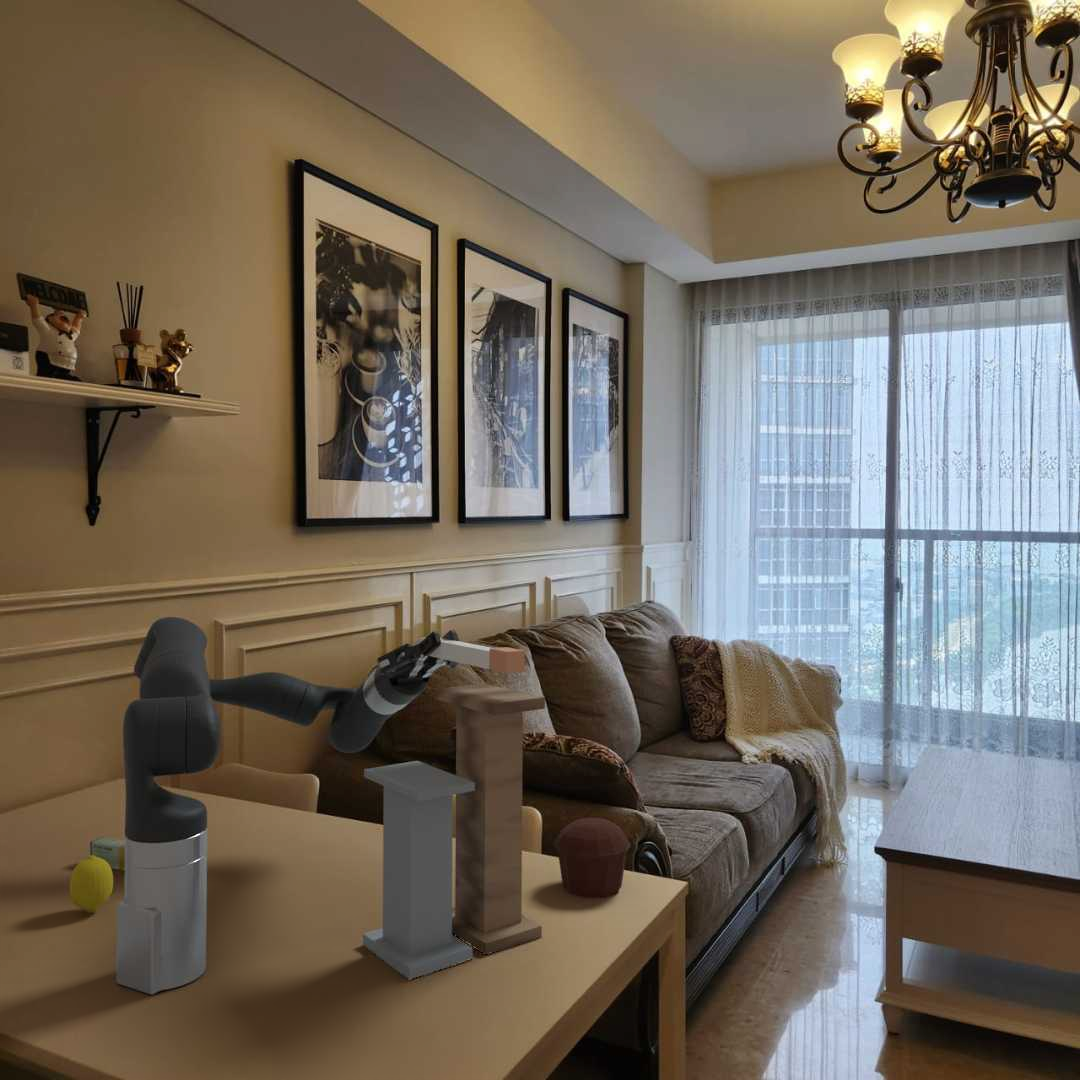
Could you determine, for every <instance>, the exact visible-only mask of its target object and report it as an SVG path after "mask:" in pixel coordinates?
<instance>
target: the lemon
mask: <svg viewBox="0 0 1080 1080" xmlns="http://www.w3.org/2000/svg"><path fill="white" fill-rule="evenodd" d="M68 886H69V889H68V890H69V896H70V899H71V901H72V902H73V904H74V905H75V906H76V907H78V908H79V909H82V910H86V912H88V913H90V914H91V912H92V913H94V912H95V911H96V910H97V909H98V908H100V907H101V906H103V905H104V904H106V902H107V901H108V900H109V898H110V896H111V894H112V893H113V888H114V874H113V870H112V868H111V867H110V865H109V864H108V863H107V862H106V861H105V860H104V859H101V858H98V857H95V856H94V855H89V856H88V857H87V858H84V859H83V860H82V861H80V862H79V863H77V864H76V866H75V867H74V869H73V871H72V873H71V876H70V880H69V885H68Z"/></svg>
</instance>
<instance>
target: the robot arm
mask: <svg viewBox="0 0 1080 1080" xmlns="http://www.w3.org/2000/svg"><path fill="white" fill-rule="evenodd" d="M424 638H425V639H424V640H423V641H421V640H418V641H417V642H415V643H414V644H413V645H412V644H411V643H405V644H403V645H401V646H399V647H396V648H395V649H393V650H390V651H389V652H387V653H385V654H384V655H381V656H380V657H377V660H376V661H377V663H378V666H377V667H376V668H375V669H374V670H373V671H372V672H371V673H370V674H369V676H368V678H366V680H365V681H364V682H363V683H361V685H360V686H358V688H352V687H351V688H350V687H336V686H327V685H321V684H320V685H318V684H314V683H312V682H308V681H306V680H303V679H301V678H297V677H295V676H292V675H289V674H286V673H282V672H274V671H271V672H270V671H269V672H268V671H267V672H258V673H253V674H248V675H243V676H238V677H233V678H231V677H230V678H224V679H214V678H210V675H209V672H208V669H207V663H206V656H205V650H206V648H207V644H208V637H207V635H206V633H205V631H203V630H202V628H201V627H199V626H198V625H196V624H195V623H193V622H192V621H190V620H188V619H185V618H181V617H177V616H167V617H161V618H159V619H157V620H156V621H154V622H153V623H152V624H151V625H150V628H149V629H148V631H147V633H146V636H145V639H144V641H143V644H142V646H141V648H140V651H139V653H138V655H137V658H136V660H135V663H134V668H133V673H134V675H135V676H136V677H137V679H139V680H140V681H139V699H136V700H135V699H134V700H133V701H131V702H130V703H129V704H128V706H127V708H126V711H125V713H124V718H123V723H122V725H123V726H122V728H123V729H122V746H123V762H124V780H125V781H124V782H125V783H124V785H125V810H124V811H125V813H124V815H125V817H124V841H125V871H124V882H123V883H124V886H123V887H124V896H123V899H124V900H121V901H119V902H118V903H117V905H116V973H115V974H116V980H115V982H116V984H119V985H121V986H125V987H127V988H131V989H134V990H137V991H139V992H143V993H145V994H148V995H155V994H156V993H158V992H160V991H165V990H171V989H175V988H179V987H181V986H185V985H187V984H190V983H191V982H193V981H196V980H197V979H199V978H200V977H201V976H202V975H203V974H204V973H205V971H206V969H207V910H208V909H207V903H208V901H207V900H208V899H207V897H208V896H207V895H208V893H207V891H208V886H207V885H208V884H207V881H208V879H207V878H208V876H207V875H208V809H207V806H206V805H205V804H204V802H203V801H201V800H199V799H197V798H194V797H190V796H187V795H182V794H178V793H175V792H172V791H170V790H168V789H166V788H163V787H162V786H160V785H159V784H157V782H155V780H154V778H155V777H163V776H173V775H175V776H176V775H187V774H195V773H199V772H203V771H205V770H207V769H209V768H211V767H212V766H213V765H214V763H215V762H216V760H217V758H218V755H219V753H220V749H221V739H222V729H221V722H220V718H219V717H220V715H219V713H218V710H217V707H216V704H215V703H221V704H225V705H231V706H236V707H241V708H245V709H250V710H254V711H257V712H261V713H264V714H267V715H270V716H273V717H276V718H278V719H281V720H284V721H286V722H291V723H294V724H296V725H299V726H303V727H310V726H311V725H313V724H314V722H315V721H316V720H317V718H318V717H319V715H320V713H321V712H323V711H325V710H326V711H327V710H334V712H333V715H332V717H331V721H330V723H329V727H328V730H327V739H328V741H329V743H330V744H331V746H332V747H333V748H334V749H336V750H337V751H339V752H341V753H346V754H352V753H353V754H354V753H358V752H361V751H363V750H365V749H366V748H368V746H369V745H370V744H371V743H372V742H373V740H374V739H375V737H376V736H377V735H378V733H379V732H380V730H381V729H382V727H383V725H384V724H385V722H386V721H387V720H388V719H389V718H391V717H392V716H393V715H395V714H396V713H397V712H398V711H401V710H402V709H403V708H405V707H406V706H407V705H408V704H410V703H411V702H412V701H414V699H415V698H417V697H418V696H419V695H420V694H422V693H423V692H424V691H425V689H426V688H427V686H428V684H429V681H430V677H431V675H433V674H434V673H436V672H438V671H439V670H440V667H444V666H446V667H448V668H449V669H455V668H456V667H458V662H454V661H450V660H445V659H441V658H436V657H432V656H427V655H430V654H431V653H432V652H433V651H434V650H436V649H437V648H438V647H439V646H440V644H441V639H440V638H443V639H448V640H453V641H459V642H460V640H459V635H458V633H457V631H456V630H455V629H453V630H448V632H447V633H446V634H444V635H443V636H442V637H441V636H440V633H439V631H437V630H435V631H431V632H430V634H428V635H427V636H426V637H424Z"/></svg>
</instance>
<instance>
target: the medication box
mask: <svg viewBox="0 0 1080 1080" xmlns="http://www.w3.org/2000/svg"><path fill="white" fill-rule="evenodd" d="M89 845H90V848H89V849H90V855H89V856H91V855H94V856H95V857H98V858H101V859H104V860H105V861H106V862H107V863H108V864H109V865H110V867H111V869H113V868H117V869H116V870H118V869H124V870H125V840H122V839H114V838H110V837H104V836H101V837H98V838H95V839H94V840H91V841H90V842H89ZM124 870H123V871H124Z"/></svg>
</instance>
